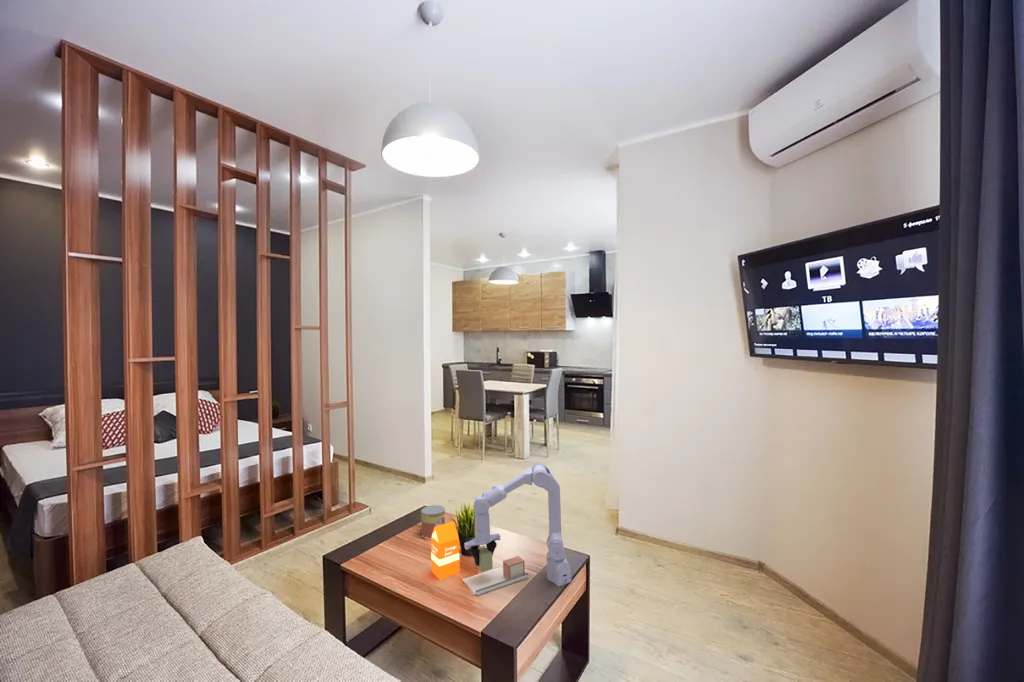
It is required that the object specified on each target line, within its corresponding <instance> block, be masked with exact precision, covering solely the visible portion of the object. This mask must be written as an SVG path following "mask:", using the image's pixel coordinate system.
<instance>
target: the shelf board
mask: <svg viewBox="0 0 1024 682" xmlns="http://www.w3.org/2000/svg"><path fill="white" fill-rule="evenodd" d="M527 579H529V573H528V572H525V574H522V575H519V576H516V577H513V578H511V579H508V580H507V579H506V578H505V577H504V576H503V565H502V566H498V567H496V568H493V569H490V570H487V571H484V572H481V573H477V574H475V575H471V576H468V577H465V578H462V581H463V582H464V584H465V585H466V586H467V587H468V588H469V589H470V591H472V593H473V594H474V595H475V596H476V597H479V596H481V595H484V594H487V593H490V592H493V591H495V590H498V589H501V588H504V587H507V586H509V585H512V584H515V583H518V582H521V581H524V580H527Z"/></svg>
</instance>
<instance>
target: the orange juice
mask: <svg viewBox="0 0 1024 682" xmlns="http://www.w3.org/2000/svg"><path fill="white" fill-rule="evenodd" d="M430 559H431V572H432V573H433V575H434V576H435V577H436V578H437V579H438V580H443V579H445V578H449V577H451V576H454V575H456V574H460V573H461V571H460V570H461V569H460V538H459V534H458V530H457V528H456V523H455V521H454V520H453V521H450V522H446V523H445V524H443V525H439V526H436V527H435V528H434V530H433V533H432V536H431V540H430Z"/></svg>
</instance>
